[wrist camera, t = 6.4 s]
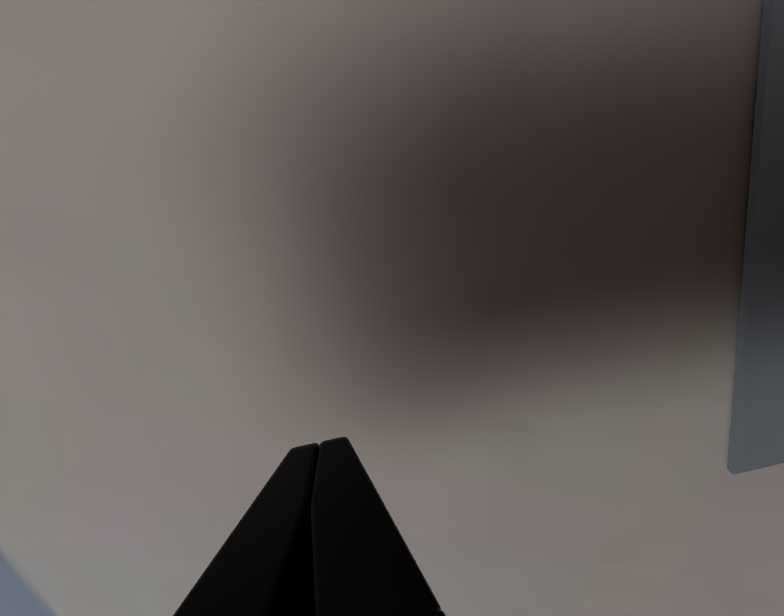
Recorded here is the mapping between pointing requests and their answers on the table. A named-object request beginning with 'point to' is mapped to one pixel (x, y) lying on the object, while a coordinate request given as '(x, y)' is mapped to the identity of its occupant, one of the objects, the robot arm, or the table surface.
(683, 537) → the table surface
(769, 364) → the mat
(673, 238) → the table surface
